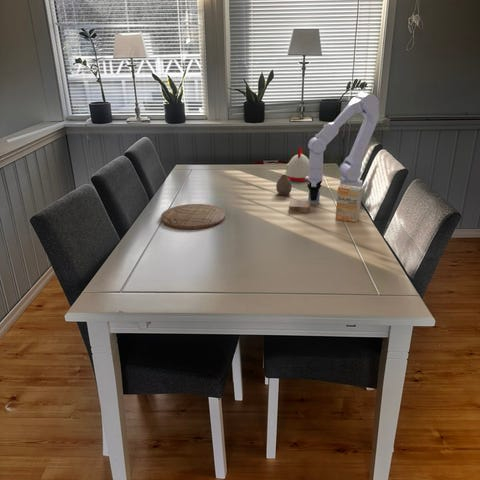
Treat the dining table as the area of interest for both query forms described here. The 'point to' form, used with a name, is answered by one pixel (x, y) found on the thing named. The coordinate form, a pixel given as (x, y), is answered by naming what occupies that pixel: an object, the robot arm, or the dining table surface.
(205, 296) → the dining table surface
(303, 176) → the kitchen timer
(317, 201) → the cube
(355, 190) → the supplement box
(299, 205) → the base
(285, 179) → the vase
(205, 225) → the trivet
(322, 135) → the robot arm
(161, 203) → the dining table surface
